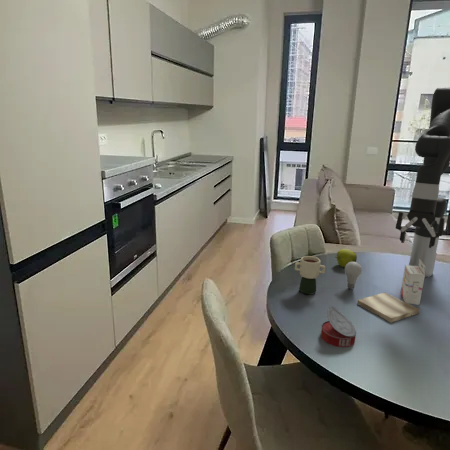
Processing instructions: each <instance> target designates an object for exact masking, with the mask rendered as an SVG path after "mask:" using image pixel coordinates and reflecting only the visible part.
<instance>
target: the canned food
mask: <svg viewBox="0 0 450 450" xmlns="http://www.w3.org/2000/svg"><path fill="white" fill-rule="evenodd" d="M326 315H327V316H326V317H327V319H328V320H326V321H325V322H323V323H322V324H321V331H320V338H321V339H322V340H323V341H324V342H325V343H327V344H328V345H330V346H332V347H333V346H334V347H338V348H349V347H351V346H353V345H354V344H355V342H356V337H357V336H356V334H357V330H356V327H355V326H354V325H353V323H352V322H351V321H350V319H348V318H347V317H346V316H345V315H344V314H343V313H342V312H341V311H339V310H338V309H337V308H336V307H334V306H329V307H328V309H327V314H326Z"/></svg>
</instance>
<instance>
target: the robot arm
mask: <svg viewBox="0 0 450 450" xmlns="http://www.w3.org/2000/svg"><path fill="white" fill-rule="evenodd" d="M430 108H431V109H430V119H429V127H428V129H426V131H425V132H424V133H422V134H421V135H420V137H419V138H417V141H416V143H415V148H414V150H415V151H414V152H415V153H416V155H417V156H418V157H420V158H423V160H422V165H420V166H419V167H418V168H417V172H416V178H415V179H416V180H415V184H414V187H413V190H412V195H411V202H410V206H409V212H408V213H407V212H404V211H400V212H399V213H398V216H397V218H396V219H397V220H396V224H395V229H396V230H399V231H400V234H399V235H400V236H399V241H400V244H401V243H402V244H404V243H405V241H406V235H407V230H408V229H409V228H410V227H413V228H415V230H414V234H413V239H412V247H411V252H410V257H409V261H408V262H409V263H408V265H411V266H419V259H420V260H421V261H422V262H423V264H424V265H425V267H426V268H425V278H427V277H429V278H430V277H431V276H432V275H433V274H434V271H435V270H434V269H435V264H436V259H437V255H438V254H437V250H438V244H439V240H440V239H439V238H440V237H442V236H443V235H444V230H445V222H446V218H445V217H444V216H445V212H446V208H447V200H446V199H445V198H444V197H439V194H440V182H441V177H442V175H443V174H444V173H446V172H447V170H448V168H449V167H450V87H449V86H448V87H447V86H445V87H443V86H442V87H441V86H440V87H437V88H436V89H435V90H434V92H433V96H432V99H431V107H430ZM406 217H407V218H408V220H409V221H408V222H407V223H406V224H405V225H404V226H402V223H403V220H404V219H406ZM421 266H422V265H421ZM422 268H423V266H422Z"/></svg>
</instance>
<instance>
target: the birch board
mask: <svg viewBox="0 0 450 450" xmlns="http://www.w3.org/2000/svg"><path fill="white" fill-rule="evenodd" d="M357 305H359V306H361V307H362V308H365V309H366V310H367V311H369V312H372V313H373V314H375V315H377V316H378V315H379V316H378V317H381V318H382V319H384V320H385V321H387V322H388V323H393V321H394V322H397V321H399V320H402V319H406V318H409V317H412V316H414V315H417V313H418V314H419V313H420V309H419V307H415V306H413V304H408V303H405V301H404V300H402V299H399V298H397V297H395V296H393V295H391V294H389V293H387V292H382V293H377V294H375V295H371V296H366V297H364V298H360V299H359V298H358V299H357ZM411 315H412V316H411Z"/></svg>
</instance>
